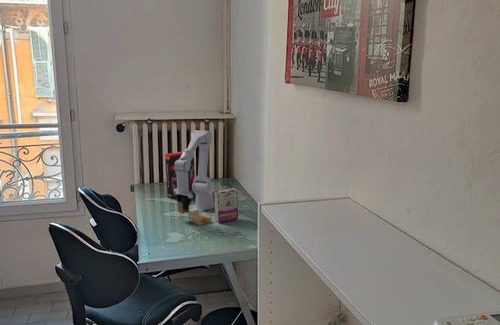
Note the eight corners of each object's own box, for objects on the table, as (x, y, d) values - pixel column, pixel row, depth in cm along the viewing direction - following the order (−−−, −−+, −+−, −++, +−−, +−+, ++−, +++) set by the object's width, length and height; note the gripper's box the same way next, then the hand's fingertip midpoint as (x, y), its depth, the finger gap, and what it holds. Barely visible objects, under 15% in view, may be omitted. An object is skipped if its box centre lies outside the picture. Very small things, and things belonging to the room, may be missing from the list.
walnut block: (184, 210, 225) (184, 200, 224) (189, 212, 223) (188, 201, 221) (178, 211, 223) (177, 201, 222) (182, 213, 220) (182, 203, 219)
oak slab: (203, 219, 227) (203, 213, 227) (211, 222, 222) (210, 217, 222) (192, 221, 223) (191, 216, 222) (199, 225, 218) (199, 219, 217)
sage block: (192, 215, 232) (192, 208, 232) (198, 216, 230) (198, 209, 229) (187, 217, 229) (187, 210, 228) (193, 218, 227) (193, 211, 226)
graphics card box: (171, 199, 260) (169, 155, 254) (166, 197, 265) (164, 153, 259) (196, 194, 270) (194, 151, 265) (190, 192, 276) (188, 150, 270)
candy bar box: (234, 217, 229) (233, 187, 225) (238, 220, 225) (238, 189, 221) (214, 220, 224) (214, 190, 220) (218, 223, 219) (217, 192, 216)
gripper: (168, 181, 222) (169, 207, 225) (184, 187, 212) (185, 213, 215) (179, 179, 227) (180, 204, 230) (196, 184, 216) (196, 210, 219)
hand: (183, 208), depth 222 cm, fingers closed on walnut block, 4 cm apart
